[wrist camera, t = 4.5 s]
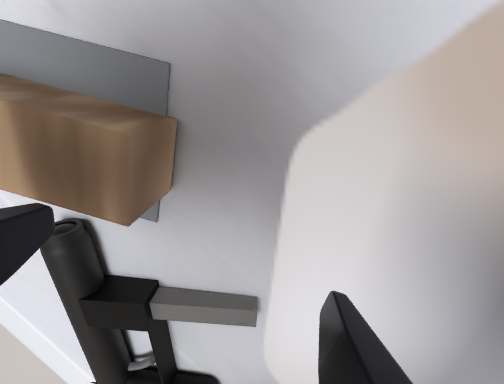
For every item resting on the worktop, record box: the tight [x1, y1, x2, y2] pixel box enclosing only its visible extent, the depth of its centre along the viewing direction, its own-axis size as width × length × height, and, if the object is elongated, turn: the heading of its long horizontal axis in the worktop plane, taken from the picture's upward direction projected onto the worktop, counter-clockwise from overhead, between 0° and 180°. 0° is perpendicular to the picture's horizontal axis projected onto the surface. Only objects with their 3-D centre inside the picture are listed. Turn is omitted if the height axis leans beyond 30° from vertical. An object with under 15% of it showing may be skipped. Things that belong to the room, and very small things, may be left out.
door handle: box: [40, 219, 257, 384], centre depth 21 cm, size 3×20×16 cm
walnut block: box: [0, 73, 177, 226], centre depth 13 cm, size 4×4×11 cm
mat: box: [0, 20, 170, 222], centre depth 16 cm, size 12×10×1 cm
